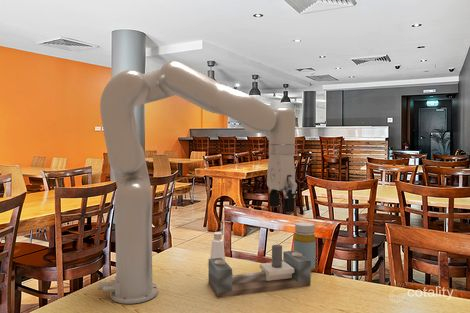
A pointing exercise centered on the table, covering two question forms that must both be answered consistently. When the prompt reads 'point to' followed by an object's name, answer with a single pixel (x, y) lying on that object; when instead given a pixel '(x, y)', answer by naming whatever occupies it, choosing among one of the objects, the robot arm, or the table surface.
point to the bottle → (305, 241)
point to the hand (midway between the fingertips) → (281, 208)
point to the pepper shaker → (217, 246)
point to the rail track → (257, 277)
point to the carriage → (277, 266)
